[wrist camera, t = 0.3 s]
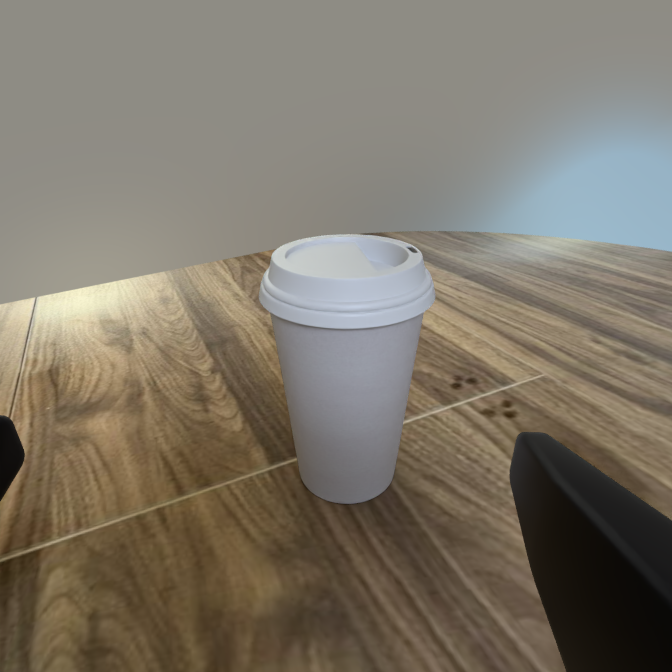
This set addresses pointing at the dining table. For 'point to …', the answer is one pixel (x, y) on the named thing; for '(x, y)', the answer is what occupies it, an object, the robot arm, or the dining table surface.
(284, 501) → the dining table surface
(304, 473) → the coffee cup
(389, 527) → the dining table surface
